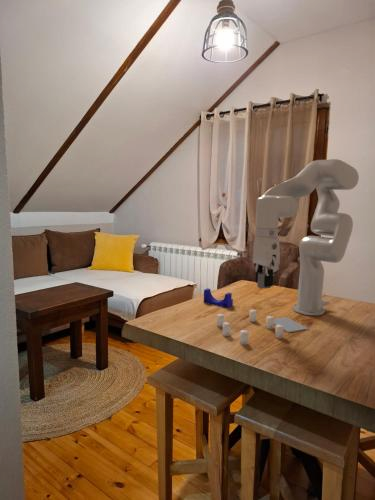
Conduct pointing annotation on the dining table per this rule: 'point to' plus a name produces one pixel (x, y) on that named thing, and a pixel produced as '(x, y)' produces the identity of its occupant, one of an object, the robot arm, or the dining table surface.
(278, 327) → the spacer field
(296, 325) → the mat
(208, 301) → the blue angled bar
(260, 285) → the grey faceted polyhedron
